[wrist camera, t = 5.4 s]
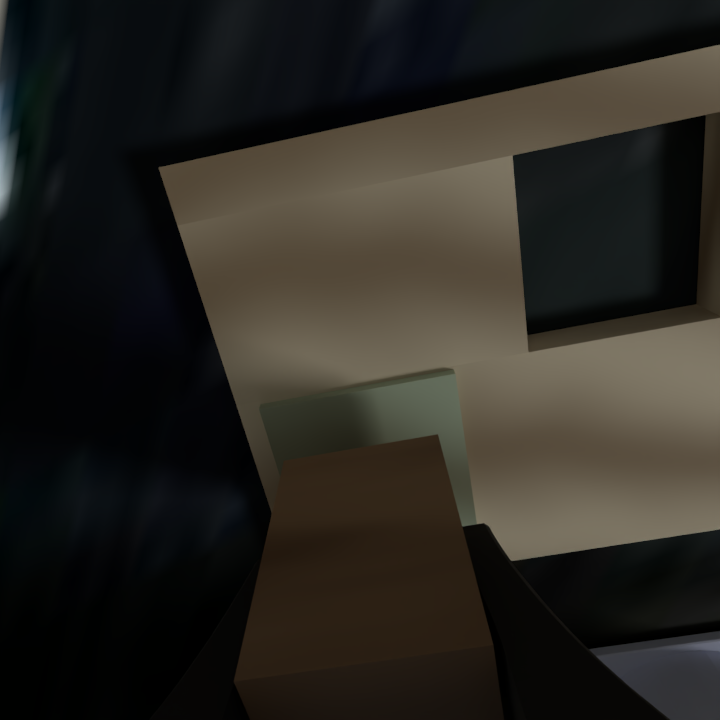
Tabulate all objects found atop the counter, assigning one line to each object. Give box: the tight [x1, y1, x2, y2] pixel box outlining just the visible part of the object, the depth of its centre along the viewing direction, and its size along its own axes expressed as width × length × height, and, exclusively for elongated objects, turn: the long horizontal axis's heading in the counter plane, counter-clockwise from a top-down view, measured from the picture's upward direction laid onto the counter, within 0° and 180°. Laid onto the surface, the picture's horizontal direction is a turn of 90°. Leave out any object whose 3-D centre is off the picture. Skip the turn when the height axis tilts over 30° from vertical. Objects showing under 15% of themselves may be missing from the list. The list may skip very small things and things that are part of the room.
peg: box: [234, 434, 504, 720], centre depth 12 cm, size 4×4×6 cm
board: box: [159, 45, 720, 561], centre depth 15 cm, size 14×15×2 cm
